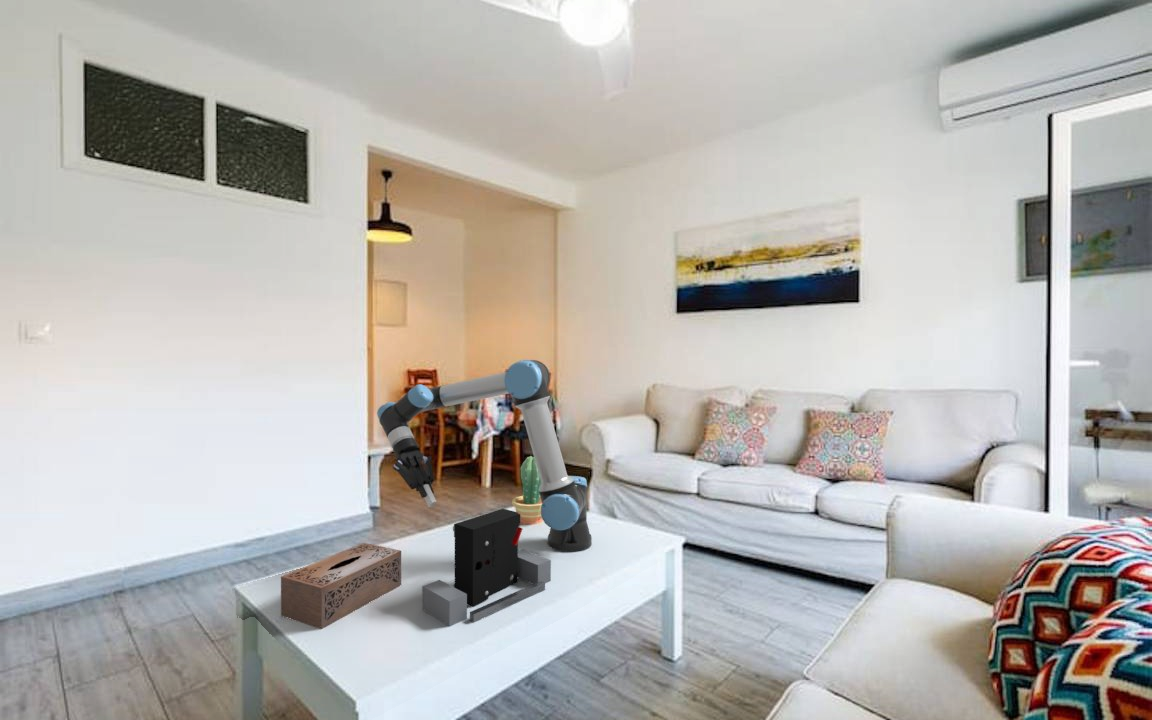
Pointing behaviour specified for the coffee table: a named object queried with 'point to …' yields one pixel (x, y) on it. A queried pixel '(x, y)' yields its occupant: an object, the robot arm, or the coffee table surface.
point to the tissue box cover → (339, 584)
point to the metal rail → (506, 601)
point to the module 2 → (533, 567)
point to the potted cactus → (529, 494)
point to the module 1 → (444, 602)
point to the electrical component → (486, 554)
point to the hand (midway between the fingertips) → (432, 504)
